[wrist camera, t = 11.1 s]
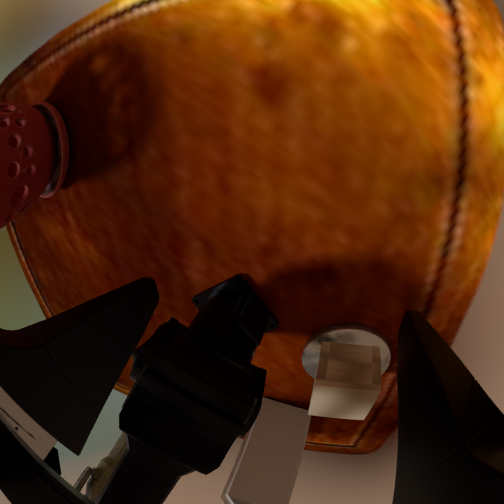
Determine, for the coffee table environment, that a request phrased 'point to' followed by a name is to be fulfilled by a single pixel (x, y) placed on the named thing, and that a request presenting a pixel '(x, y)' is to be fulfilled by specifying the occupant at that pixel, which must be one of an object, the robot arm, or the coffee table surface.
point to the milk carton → (269, 456)
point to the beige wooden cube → (346, 381)
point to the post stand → (347, 336)
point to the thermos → (101, 471)
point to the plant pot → (30, 156)
